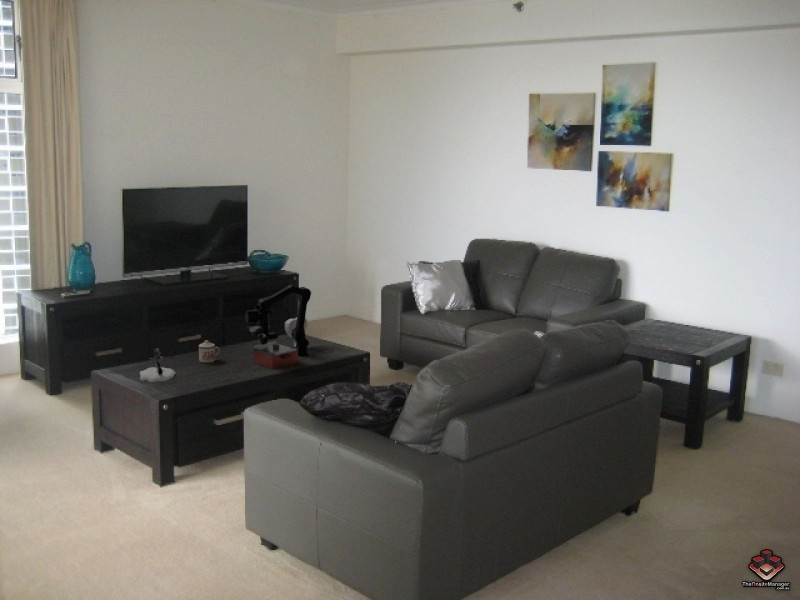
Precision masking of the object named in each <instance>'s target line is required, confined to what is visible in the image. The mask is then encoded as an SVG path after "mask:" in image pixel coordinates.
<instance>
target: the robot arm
mask: <svg viewBox="0 0 800 600" xmlns="http://www.w3.org/2000/svg"><path fill="white" fill-rule="evenodd" d="M293 293H294V294H296V295H297V299H298V306H297V307H298V308H297V316H296V317H297V322H296V327H295V329H292V334H291V336H292V337H291V339H292V340H293V342H294V341H295V343H297V344H296V347H297V348H298V357H304V356H308V355H310V353H308V346H309V345H310V341H309V339H307V338H306V330H304V323H305V318H306V316H307V315H306V314H307V306H308V303H309V301H310V300H311V295H312V291H311V290H310V289H309V288H307V287H305V286H301V287H299V286H295V285H293V284H288V286H286V287H284V288H282V289H280V290H279V291H277V292H275V293H273V294H271V295H269V296H265V297H262V298H259V299H258V301H257V304H256V305H255V307H254V309H253V310H246V312H245V316H244V320H245V322H246V323H247V324H249V323H256V326H254V327H251V328H250V329H249V334H250V335H251V336H252V337H257V338H258V339H259V340H260V345H261V344H265V343H268V341H269V340H270V341H271V340H275V339H278V338H279V336H278V335H279V334H278V333H277V332H273V331H272V332H271V330H270V325H271V322H270V314H273V311H272V310H271V308H272V307H273V306H274V304H275V303H277V302H278V301H280V300H282V299H284V298H286V297H288V296H289V295H291V294H293Z"/></svg>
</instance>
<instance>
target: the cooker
mask: <svg viewBox="0 0 800 600" xmlns="http://www.w3.org/2000/svg"><path fill="white" fill-rule="evenodd" d="M277 343H278V344H281V345H285V346H288V347H292V348H296V351H292V352H288V353H284V354H280V355H274V353H272V352H268V351H265V350H261V349H258V348H254V347H253V363H254V364H256V365H259V366H263V367H266V368H269V369H272V370H273V369H278V368H280V367H285V366H289V365H292V364H296V363H299V355H298V348H297V347H294V345H290V344H286V343H283V342H277Z"/></svg>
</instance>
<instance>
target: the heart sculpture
mask: <svg viewBox="0 0 800 600" xmlns="http://www.w3.org/2000/svg"><path fill="white" fill-rule="evenodd" d="M296 322H297V316H296V317H295V318H289V319H287V320H286V321H285V322H284V331H285V333H286V334H287V335H288V336H289V337H290V338H292V336H291V334H292V329H295V327H296ZM307 327H308V319H307V318H306V317H305V323H304V330H305V331H306V330H307ZM296 344H297V343H295V341H294V340H293V346H294V347H296Z"/></svg>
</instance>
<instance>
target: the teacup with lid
mask: <svg viewBox="0 0 800 600" xmlns="http://www.w3.org/2000/svg"><path fill="white" fill-rule="evenodd" d="M216 349H217V352H216ZM220 351H221V350H220V348H219V347H218V346H216V345H215V343H212V342H210V341H209V340H204V341H203V342H202V343H200V344H199V345H198V361H199V362H200V363H204V364H209V363H213V362H215V361H216V356H218V355H219V353H220ZM215 352H216V353H215Z"/></svg>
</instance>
